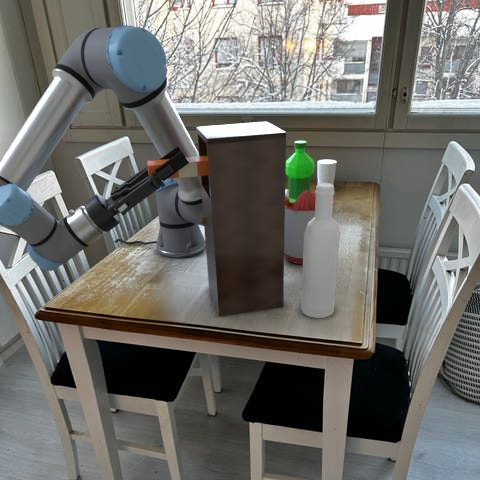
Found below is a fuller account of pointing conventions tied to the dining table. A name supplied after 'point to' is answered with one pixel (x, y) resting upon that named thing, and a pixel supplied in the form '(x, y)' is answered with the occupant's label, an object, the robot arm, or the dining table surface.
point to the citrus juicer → (298, 224)
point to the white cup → (326, 171)
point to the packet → (194, 168)
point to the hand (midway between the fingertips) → (183, 154)
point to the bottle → (320, 257)
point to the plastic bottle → (299, 171)
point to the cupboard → (244, 215)
